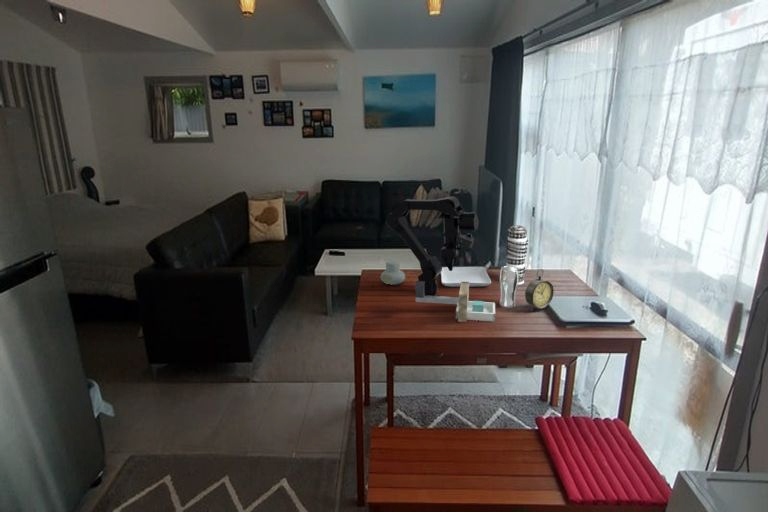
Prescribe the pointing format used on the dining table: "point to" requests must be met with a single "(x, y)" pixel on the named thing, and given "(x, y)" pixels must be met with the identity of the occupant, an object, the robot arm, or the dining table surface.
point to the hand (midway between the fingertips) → (453, 267)
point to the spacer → (478, 306)
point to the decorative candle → (517, 250)
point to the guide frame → (463, 301)
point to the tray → (486, 315)
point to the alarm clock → (539, 293)
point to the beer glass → (508, 285)
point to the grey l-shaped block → (432, 299)
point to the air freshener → (392, 273)
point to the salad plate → (465, 276)
